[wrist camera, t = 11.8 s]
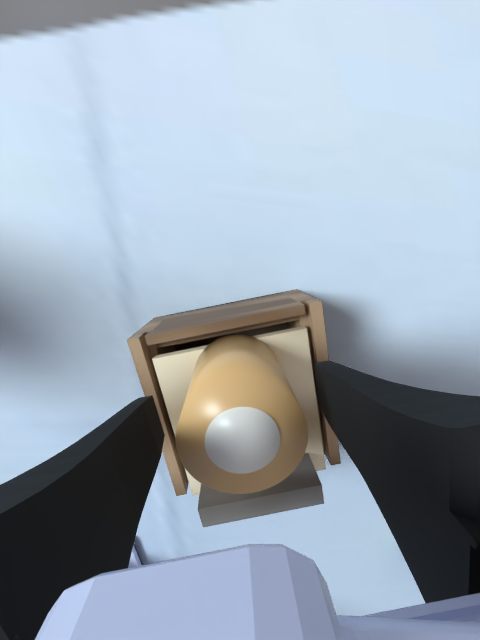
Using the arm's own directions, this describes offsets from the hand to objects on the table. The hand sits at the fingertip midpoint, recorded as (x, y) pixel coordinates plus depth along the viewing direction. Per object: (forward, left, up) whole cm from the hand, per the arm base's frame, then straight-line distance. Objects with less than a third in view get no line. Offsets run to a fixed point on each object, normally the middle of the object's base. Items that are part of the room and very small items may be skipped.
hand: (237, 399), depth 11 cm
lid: (-3, 0, -3) cm, 4 cm away
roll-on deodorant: (0, 0, -3) cm, 3 cm away
